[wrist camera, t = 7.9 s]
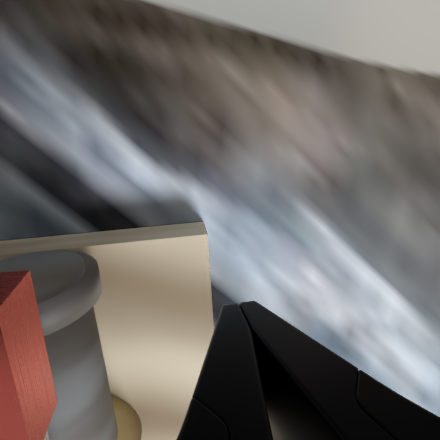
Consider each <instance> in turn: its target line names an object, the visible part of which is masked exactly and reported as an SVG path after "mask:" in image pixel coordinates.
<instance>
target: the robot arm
mask: <svg viewBox="0 0 440 440" xmlns="http://www.w3.org/2000/svg"><path fill="white" fill-rule="evenodd" d="M176 440H440V417H438V416H436V415H435V414H433V413H431V412H429V411H427V410H426V409H424V408H422V407H420V406H419V405H417V404H415V403H413V402H412V401H410V400H408V399H406V398H405V397H403V396H401V395H399V394H398V393H396V392H395V391H393V390H391V389H390V388H388V387H387V386H385V385H383V384H382V383H380V382H378V381H377V380H375V379H374V378H372V377H371V376H369V375H368V374H366V373H365V372H363V371H361V370H359V371H358V368H357V367H355V366H354V365H352V364H351V363H349V362H348V361H346V360H344V359H343V358H341V357H340V356H338V355H337V354H335V353H334V352H332V351H331V350H329V349H328V348H326V347H325V346H323V345H321V344H320V343H318V342H317V341H315V340H314V339H312V338H311V337H309V336H308V335H306V334H305V333H303V332H302V331H300V330H299V329H297V328H295V327H294V326H292V325H291V324H289V323H288V322H286V321H285V320H283V319H282V318H280V317H279V316H277V315H276V314H274V313H273V312H271V311H269V310H268V309H266V308H265V307H263V306H262V305H260V304H259V303H257V302H255V301H249V302H242V303H240V304H239V305H238V304H237V303H235V304H227V305H223V306H222V308H221V311H220V314H219V317H218V320H217V323H216V326H215V329H214V332H213V335H212V338H211V341H210V344H209V347H208V350H207V353H206V356H205V359H204V362H203V365H202V368H201V371H200V375H199V378H198V381H197V384H196V387H195V390H194V393H193V396H192V399H191V401H190V404H189V407H188V410H187V413H186V416H185V419H184V421H183V424H182V427H181V429H180V432H179V435H178V437H177V439H176Z"/></svg>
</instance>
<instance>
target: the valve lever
mask: <svg viewBox="0 0 440 440" xmlns="http://www.w3.org/2000/svg"><path fill="white" fill-rule="evenodd" d="M57 402H58V401H57V396H56V392H55V387H54V382H53V377H52V373H51V368H50V363H49V358H48V353H47V349H46V344H45V339H44V334H43V330H42V325H41V320H40V315H39V311H38V306H37V301H36V296H35V292H34V287H33V282H32V277H31V273H30V270H23V271H9V272H0V440H50V439H49V435H48V431H47V429H48V427H49V424H50V421H51V418H52V416H53V413H54V410H55V407H56V405H57Z"/></svg>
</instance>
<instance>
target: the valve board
mask: <svg viewBox="0 0 440 440" xmlns="http://www.w3.org/2000/svg"><path fill="white" fill-rule="evenodd" d="M23 270H30V273H31V277H32V282H33V287H34V292H35V296H36V301H37V306H38V311H39V315H40V320H41V325H42V330H43V334H44V339H45V344H46V349H47V353H48V358H49V363H50V368H51V373H52V377H53V382H54V387H55V392H56V396H57V401H58V402H57V405H56V407H55V410H54V413H53V416H52V418H51V421H50V424H49V427H48V429H47V431H48V435H49V439H50V440H176V439H177V437H178V435H179V432H180V429H181V427H182V424H183V421H184V419H185V416H186V413H187V410H188V407H189V404H190V401H191V399H192V396H193V393H194V390H195V387H196V384H197V381H198V378H199V375H200V371H201V368H202V365H203V362H204V359H205V356H206V353H207V350H208V347H209V344H210V341H211V338H212V335H213V332H214V327H213V311H212V296H211V280H210V265H209V250H208V234H207V231H206V228H205V225H204V222H194V223H183V224H173V225H162V226H152V227H142V228H131V229H121V230H110V231H100V232H90V233H79V234H69V235H58V236H48V237H37V238H27V239H17V240H6V241H0V272H9V271H23Z"/></svg>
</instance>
